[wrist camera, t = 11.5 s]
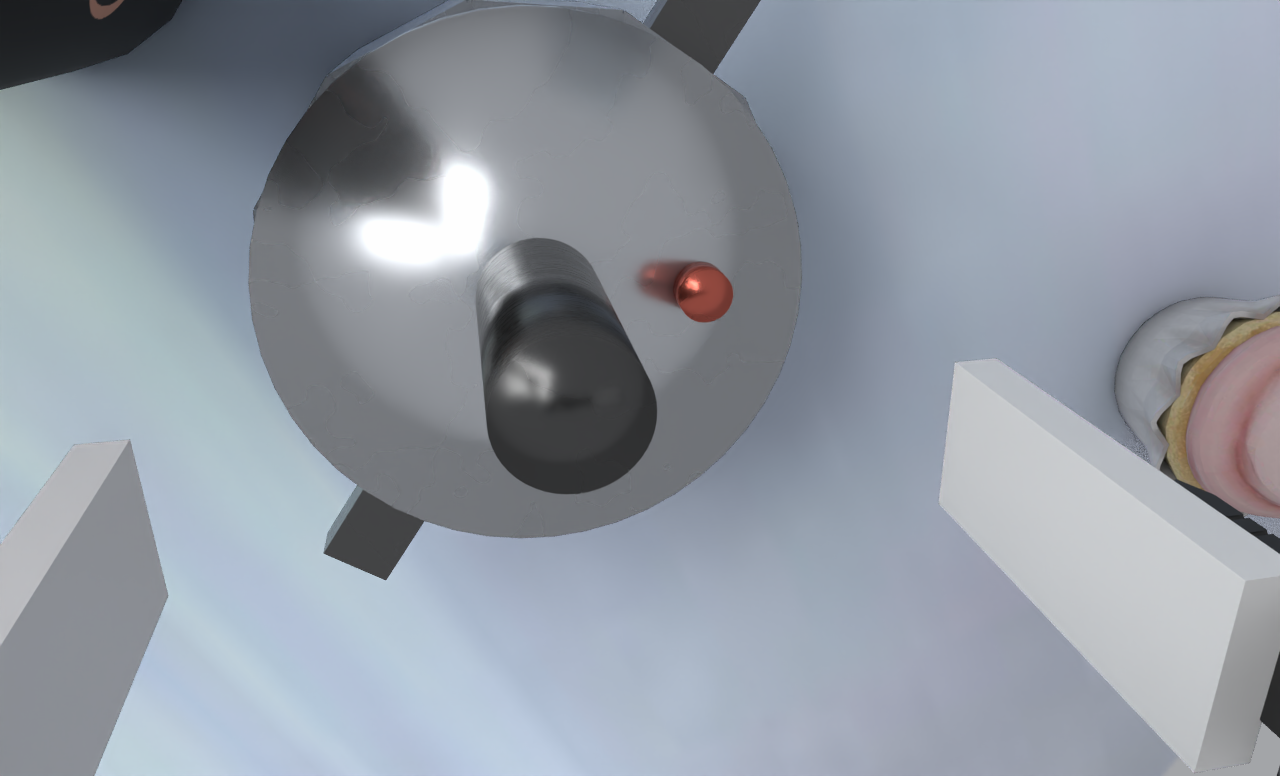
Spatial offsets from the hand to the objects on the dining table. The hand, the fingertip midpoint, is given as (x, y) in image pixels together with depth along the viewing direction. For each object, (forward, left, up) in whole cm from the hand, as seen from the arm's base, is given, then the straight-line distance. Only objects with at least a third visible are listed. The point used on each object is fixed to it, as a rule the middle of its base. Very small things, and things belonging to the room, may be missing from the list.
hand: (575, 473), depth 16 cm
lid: (0, 0, -13) cm, 13 cm away
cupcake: (+27, +9, -20) cm, 35 cm away
